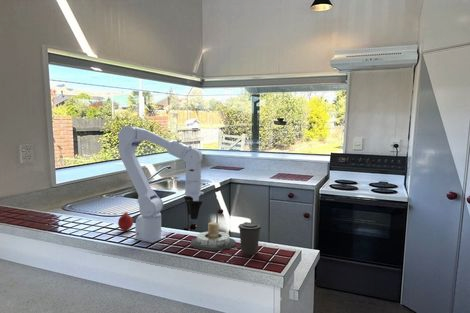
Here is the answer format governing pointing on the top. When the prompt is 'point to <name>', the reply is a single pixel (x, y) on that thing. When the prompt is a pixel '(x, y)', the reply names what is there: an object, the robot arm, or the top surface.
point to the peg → (213, 230)
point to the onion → (125, 222)
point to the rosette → (213, 242)
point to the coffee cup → (249, 237)
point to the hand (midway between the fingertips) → (192, 216)
